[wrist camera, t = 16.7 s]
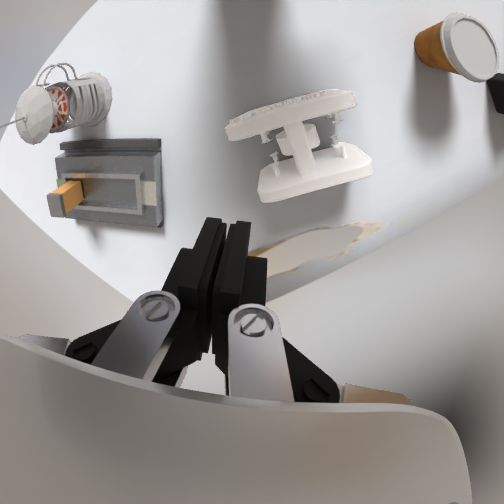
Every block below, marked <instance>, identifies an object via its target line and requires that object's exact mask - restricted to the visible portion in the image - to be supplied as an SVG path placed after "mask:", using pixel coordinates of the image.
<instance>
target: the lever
mask: <svg viewBox="0 0 504 504" xmlns="http://www.w3.org/2000/svg"><path fill="white" fill-rule="evenodd" d="M47 200H48V205H49V210H50V214H51V217H62V218H64V217H65V216H66V214H67V213H68V212H70V211H71V210H72V209H73V208H74V207H75V206H77V205H78V204H79V203H80V202H81V201H83V193H82V187H81V181H68V182H66V183H65V184H63V185H62V186H60V187H59V188H57V189H56V190H54V191H53V192H52V193H49V194H48V195H47Z"/></svg>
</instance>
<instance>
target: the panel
mask: <svg viewBox="0 0 504 504" xmlns="http://www.w3.org/2000/svg"><path fill="white" fill-rule="evenodd" d="M55 162H56V170H57V176H58V179H57V185H58V188H59V187H60V186H62V185H63V184H65V183H66V182H68V181H81V187H82V193H83V201H81V202H80V203H79V204H78V205H77V206H75V207H74V208H73V209H72V210H71V211H70V212H68V213H67V214H66V216H65V218H72V219H82V220H92V221H102V222H112V223H121V224H131V225H140V226H149V227H158V225H159V224H160V222H161V221H162V220H163V209H162V186H161V152H160V151H92V152H70V153H63V154H61V155H60V156H58V157H56V158H55Z"/></svg>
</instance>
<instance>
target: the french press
mask: <svg viewBox="0 0 504 504" xmlns="http://www.w3.org/2000/svg"><path fill="white" fill-rule="evenodd" d="M60 65H67V66H69V67H71V69H72V70H73V73H74V77H75V79H72V80H69V78H68V74H67V72H66V70H65V68H64V67H62V66H60ZM56 66H58V67H60V68H62V69H63V70H64V71H65V73H66V77H67V80H68V81H66V82H59V83H56V84H53V85H51V86H49V87H47V88H45V89H44V88H43V87H41V86H46V85H49V84H50V83H47V84H45V81H46V79H47V76H48V74H49V73H50V72H51V70H52V69H53V68H55V67H56ZM50 67H52V68H51V69H50V71H49V72H48V73H47V75H46V77H45V80H44V84H42V85H37V83H38V81H39V78H40V76H41V75H42V73H43V72H44V71H45V70H47V69H48V68H50ZM64 87H65V88H64ZM67 87H69V88H68V89H67ZM63 88H64V89H63ZM66 89H67V90H66ZM65 90H66V91H65ZM111 101H112V93H111V87H110V85H109V83H108V81H107V79H106V78H105V77H103V76H102V75H101V74H99V73H93V72H89V73H86V74H84V75H81V76H80V77H79V78H78V79H77V77H76V74H75V70H74V69H73V67H72V66H71V65H69V64H67V63H59V64H57V65H50V66H48V67H47V68H45V69H44V70H43V71H42V72H41V74H40V75H39V77H38V79H37V81H36V86H31V87H29V88H28V89H26V90H25V91H24V92H23V94H22V95H21V96H20V98H19V101H18V103H17V106H16V113H15V121H13V122H10V123H8V124H5V125H2V126H0V128H2V127H4V126H7V125H9V124H12V123H14V122H16V128H17V130H18V132H19V135H20V137H21V138H22V139H23V140H24V141H25V142H26V143H29V144H33V145H34V144H37V143H41V142H42V141H43V140H44V139H45V138H46V137H47V135H48V134H49V133H55V132H62V131H65V130H68V129H70V128H73V127H76V126H78V125H80V126H84V127H91V126H95V125H97V124H98V123H100V122H101V121H102V120H103V119H104V118H105V117H106V115H107V113H108V112H109V110H110V106H111ZM69 115H70V117H71V118H72V119H73V121H71V120H70V118H69ZM67 120H68V121H69V122H68V123H67V122H66V121H67Z"/></svg>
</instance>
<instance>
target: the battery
mask: <svg viewBox="0 0 504 504" xmlns="http://www.w3.org/2000/svg"><path fill="white" fill-rule="evenodd" d="M487 83H488V85H489V88H490V91H491V94H492V97H493V100H494V104H495V107H496V110H497V112H498V113H501V114H504V74H501V73H497V74H495V75H494V76H493V77H491V78H489V79H488V80H487Z"/></svg>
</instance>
